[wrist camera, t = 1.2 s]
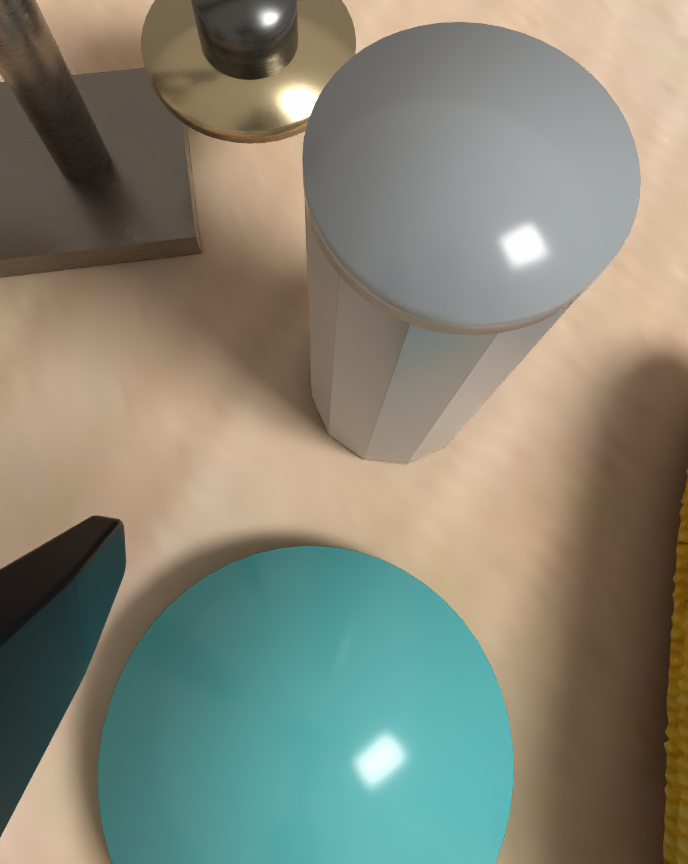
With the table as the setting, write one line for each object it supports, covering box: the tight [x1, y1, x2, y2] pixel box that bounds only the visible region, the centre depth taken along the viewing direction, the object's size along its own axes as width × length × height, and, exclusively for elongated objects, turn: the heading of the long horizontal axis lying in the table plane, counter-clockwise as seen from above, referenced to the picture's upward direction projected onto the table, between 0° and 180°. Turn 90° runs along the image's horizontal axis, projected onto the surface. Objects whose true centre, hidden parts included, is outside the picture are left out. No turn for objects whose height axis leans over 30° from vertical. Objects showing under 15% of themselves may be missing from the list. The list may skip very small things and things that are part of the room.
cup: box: [303, 22, 641, 464], centre depth 18 cm, size 6×6×13 cm
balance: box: [0, 0, 356, 277], centre depth 18 cm, size 21×8×15 cm, turn 99°
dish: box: [98, 546, 514, 864], centre depth 20 cm, size 13×13×1 cm
